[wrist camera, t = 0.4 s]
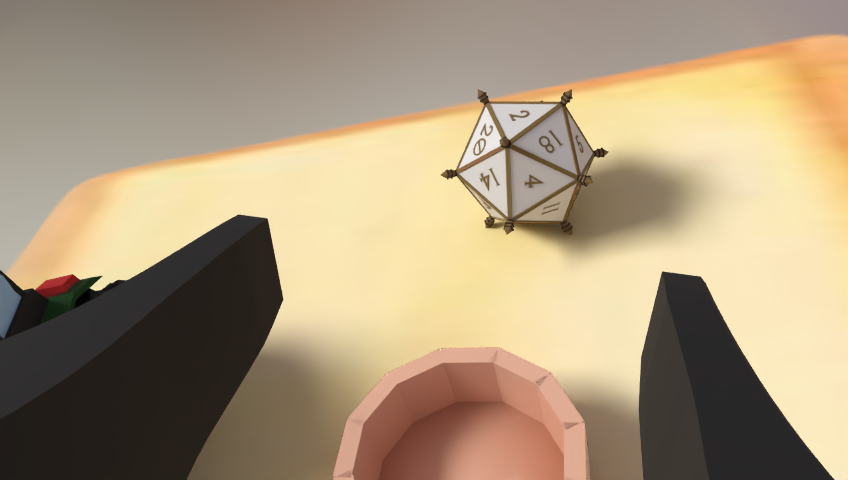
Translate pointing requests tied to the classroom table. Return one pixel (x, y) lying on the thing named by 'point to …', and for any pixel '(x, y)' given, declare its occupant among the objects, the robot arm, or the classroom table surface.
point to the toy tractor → (43, 301)
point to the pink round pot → (465, 423)
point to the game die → (526, 162)
